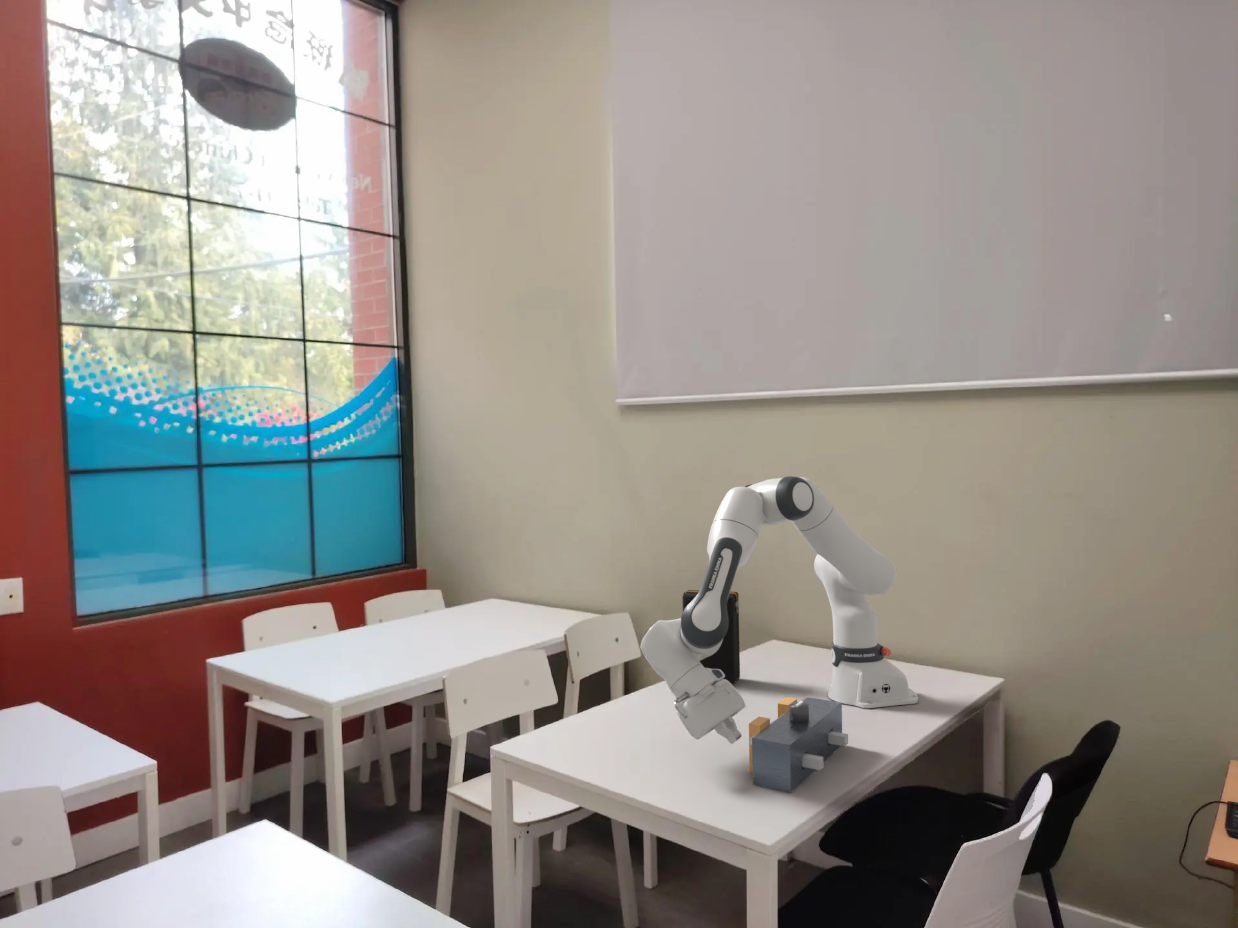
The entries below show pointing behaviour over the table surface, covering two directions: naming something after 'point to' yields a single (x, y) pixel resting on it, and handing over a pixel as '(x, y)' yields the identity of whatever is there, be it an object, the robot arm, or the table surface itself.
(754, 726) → the knob
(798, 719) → the dial
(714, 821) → the table surface
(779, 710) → the knob
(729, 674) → the black box
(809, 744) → the mount
